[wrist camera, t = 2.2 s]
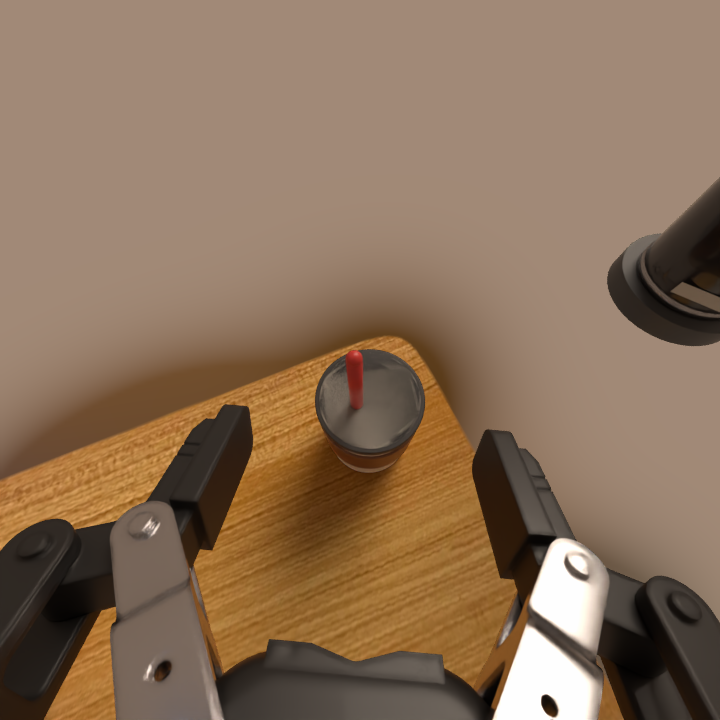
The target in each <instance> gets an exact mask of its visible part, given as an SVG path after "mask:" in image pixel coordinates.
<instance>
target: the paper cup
mask: <svg viewBox="0 0 720 720" xmlns="http://www.w3.org/2000/svg"><path fill="white" fill-rule="evenodd" d="M315 407H316V413H317V416H318V419H319V422H320V424H321V426H322V429H323V431H324V434H325V436H326V438H327V441H328V443H329V445H330V447H331V448H332V450H333V451H334V452H335V454H336V455H337V457H338V458H339V459H340V460H341V461H342V462H343V463H344V464H345V465H346V466H348V467H349V468H351V469H354V470H356V471H359V472H365V473H372V472H378V471H381V470H384V469H386V468H388V467H390V466H391V465H392V464H393V463H395V462H396V461H397V459H398V458H399V457H400V456H401V455H402V454H403V453H404V451H405V450H406V449H407V447H408V445H409V443H410V441H411V440H412V438H413V436H414V434H415V432H416V430H417V428H418V427H419V425H420V423H421V420H422V418H423V414H424V409H425V395H424V390H423V387H422V384H421V382H420V379H419V377H418V376H417V374H416V373H415V371H414V370H413V369H412V368H411V367H410V366H409V365H408V364H407V363H406V362H405V361H403V360H402V359H401V358H399V357H397V356H395V355H393V354H391V353H388V352H385V351H381V350H371V349H367V350H359V351H356V350H352V351H350V352H348V353H347V354H346V355H344V356H342V357H340V358H339V359H337V360H336V361H335V362H333V363H332V364H331V365H330V366H329V367H328V368H327V369H326V371H325V372H324V374H323V375H322V377H321V379H320V381H319V383H318V386H317V390H316V396H315Z"/></svg>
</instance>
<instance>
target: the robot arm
mask: <svg viewBox="0 0 720 720" xmlns="http://www.w3.org/2000/svg"><path fill="white" fill-rule="evenodd" d="M637 273H638V276H639V279H640V281H641V283H642V285H643V286H644V287H645V289H646V290H647V291H648V292H649V293H650V295H651V296H652V297H654V298H655V299H656V300H657V301H658V302H660V303H661V304H662V305H664V306H665V307H667V308H669V309H670V310H672V311H674V312H676V313H679V314H681V315H684V316H686V317H690V318H693V319H698V320H705V321H718V320H720V178H719V179H718V180H716V181H715V182H714V183H713V184H712V185H711V186H710V187H709V188H708V189H707V190H706V192H704V193H703V194H702V195H701V196H700V197H699V198H698V199H697V200H696V201H695V202H694V203H693V204H692V205H691V206H690V207H689V208H688V209H687V210H686V211H685V212H684V213H683V214H682V215H681V216H680V217H679V218H678V219H677V220H676V221H675V222H674V223H673V224H671V225H670V227H668V229H666V230H665V231H664V233H662V234H661V235H660V236H659V237H658V238H657V239H656V240H655V241H654V242H652V243H651V244H650V245H649V246H648V247H647V248H646V249H645V250H644V251H643V252H642V253H641V254H640V256H639V258H638V260H637ZM252 447H253V434H252V427H251V419H250V412H249V408H248V407H247V406H238V405H227V404H225V405H223V406H222V408H221V410H220V411H219V413H218V415H217V416H216V418H215V419H207V418H206V419H205V420H203V421H202V422H201V423H200V424H198V425H197V426H196V427H195V428H193V429H192V431H191V432H190V434H189V436H188V437H187V439H186V440H185V442H184V445H182V447H181V448H180V450H179V451H178V454H177V456H175V458H174V459H173V461H172V462H171V464H170V465H169V467H168V469H167V470H166V472H165V473H164V475H163V476H162V478H161V480H160V481H159V483H158V484H157V486H156V487H155V489H154V491H153V492H152V494H151V495H150V497H149V498H148V499H147V501H146V502H144V503H142V504H139V505H137V506H135V507H133V508H131V509H130V510H128V511H127V512H125V513H124V514H123V515H122V516H121V517H120V518H119V519H118V520H117V521H114V522H110V523H105V524H100V525H95V526H90V527H86V528H81V529H76V530H75V529H74V528H73V527H72V525H71V524H70V523H69V522H68V521H66V520H63V519H50V520H45V521H42V522H39V523H36V524H34V525H32V526H30V527H28V528H26V529H25V530H23V531H21V532H20V533H19V534H17V535H16V536H15V537H13V538H12V539H11V540H10V541H9V542H8V543H7V544H6V545H5V546H4V547H3V549H2V550H1V551H0V720H43V719H44V717H45V715H46V713H47V712H48V710H49V708H50V706H51V704H52V702H53V700H54V698H55V697H56V695H57V693H58V691H59V689H60V687H61V685H62V683H63V681H64V680H65V678H66V676H67V674H68V672H69V670H70V668H71V666H72V665H73V663H74V661H75V659H76V657H77V655H78V653H79V651H80V649H81V648H82V646H83V644H84V642H85V640H86V638H87V636H88V634H89V633H90V631H91V629H92V627H93V625H94V623H95V621H96V619H97V618H98V616H99V614H100V612H101V610H105V609H108V608H112V607H116V613H117V617H116V622H114V623H113V624H112V626H111V632H110V642H111V656H112V669H113V682H114V695H115V708H116V720H598V715H599V709H600V703H601V696H602V690H603V681H604V677H603V671H602V669H601V668H600V667H599V666H598V665H597V664H596V655H599V656H600V657H601V660H602V663H603V665H604V668H605V670H606V673H607V676H608V678H609V681H610V684H611V686H612V689H613V692H614V694H615V697H616V700H617V702H618V705H619V708H620V710H621V713H622V716H623V718H624V720H720V623H719V621H718V619H717V618H716V616H715V615H714V613H713V612H712V610H711V609H710V608H709V606H708V605H707V604H706V603H705V602H704V601H703V600H702V599H701V598H700V597H699V596H698V595H697V594H696V593H695V592H694V591H693V590H691V589H690V588H688V587H687V586H686V585H684V584H682V583H681V582H679V581H677V580H675V579H672V578H669V577H665V576H655V577H653V578H651V579H649V580H648V581H647V582H646V583H642V582H640V581H637V580H635V579H632V578H630V577H627V576H625V575H622V574H620V573H617V572H615V571H612V570H610V569H608V568H606V567H604V565H603V563H602V562H601V560H600V559H599V558H598V557H597V556H596V555H595V554H594V553H593V552H592V551H591V550H590V549H588V548H587V547H586V546H584V545H582V544H581V543H579V542H577V541H576V539H575V537H574V535H573V533H572V531H571V529H570V527H569V525H568V522H567V521H566V519H565V516H564V514H563V512H562V510H561V508H560V506H559V504H558V502H557V500H556V498H555V496H554V494H553V492H551V487H550V485H549V483H548V481H547V480H546V479H545V475H544V473H543V471H542V469H541V467H540V465H539V463H538V461H537V460H536V459H535V458H534V457H533V456H532V455H531V454H530V453H529V452H528V451H527V450H526V449H521V448H518V446H517V443H516V441H515V439H514V437H513V435H512V433H511V432H508V431H498V430H485V432H484V434H483V436H482V439H481V441H480V444H479V446H478V449H477V451H476V454H475V456H474V459H473V464H472V474H473V479H474V483H475V487H476V490H477V494H478V498H479V502H480V505H481V509H482V513H483V516H484V520H485V524H486V527H487V531H488V535H489V538H490V542H491V546H492V549H493V553H494V557H495V560H496V564H497V568H498V571H499V575H500V578H504V579H514V581H515V584H516V587H517V591H516V593H515V594H514V597H513V599H512V602H511V604H510V607H509V609H508V612H507V614H506V617H505V619H504V621H503V624H502V626H501V629H500V631H499V634H498V636H497V639H496V641H495V644H494V646H493V649H492V651H491V653H490V655H489V657H488V659H487V661H486V663H485V665H484V666H483V668H482V670H481V672H480V674H479V676H478V678H477V681H476V683H475V685H474V688H472V687H471V686H470V685H469V684H467V683H466V682H465V681H464V680H462V679H461V678H460V677H458V676H457V675H455V674H454V673H452V672H450V671H449V670H446V669H444V666H443V657H442V655H438V654H427V653H416V652H405V651H398V652H394V653H390V654H386V655H382V656H378V657H374V658H370V659H366V660H362V661H351V660H349V659H346V658H344V657H342V656H340V655H337V654H335V653H333V652H331V651H328V650H326V649H324V648H322V647H319V646H317V645H315V644H313V643H306V642H295V641H284V640H273V639H269V642H268V646H267V651H266V652H262V653H258V654H256V655H253V656H251V657H248V658H247V659H245V660H243V661H241V662H239V663H238V664H236V665H235V666H233V667H232V668H231V669H229V670H228V671H226V672H225V673H224V671H223V668H222V664H221V660H220V657H219V653H218V650H217V647H216V643H215V640H214V637H213V634H212V631H211V627H210V624H209V620H208V616H207V613H206V609H205V605H204V602H203V598H202V594H201V591H200V587H199V583H198V579H197V576H196V572H195V568H194V565H193V564H194V561H195V559H196V557H197V554H198V552H199V550H200V549H203V550H213V547H214V545H215V542H216V540H217V537H218V535H219V532H220V530H221V527H222V525H223V522H224V520H225V517H226V515H227V512H228V510H229V508H230V505H231V503H232V500H233V498H234V495H235V493H236V490H237V488H238V485H239V483H240V480H241V478H242V475H243V473H244V470H245V468H246V465H247V463H248V461H249V458H250V455H251V452H252Z"/></svg>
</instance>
